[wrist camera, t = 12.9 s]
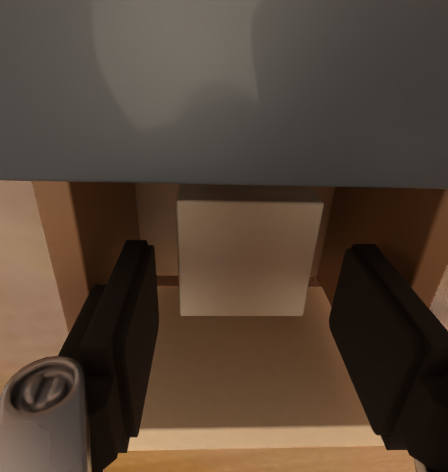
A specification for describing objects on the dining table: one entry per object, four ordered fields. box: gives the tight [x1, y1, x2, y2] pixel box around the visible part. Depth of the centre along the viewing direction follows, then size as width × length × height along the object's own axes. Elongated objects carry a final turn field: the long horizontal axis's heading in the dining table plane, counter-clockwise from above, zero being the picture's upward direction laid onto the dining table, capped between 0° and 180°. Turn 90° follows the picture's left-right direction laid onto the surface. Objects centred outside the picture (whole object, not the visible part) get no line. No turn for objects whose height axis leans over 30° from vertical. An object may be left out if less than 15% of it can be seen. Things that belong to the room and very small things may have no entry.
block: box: [176, 184, 324, 316], centre depth 13 cm, size 4×4×4 cm
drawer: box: [32, 181, 448, 451], centre depth 13 cm, size 18×12×8 cm, turn 178°
